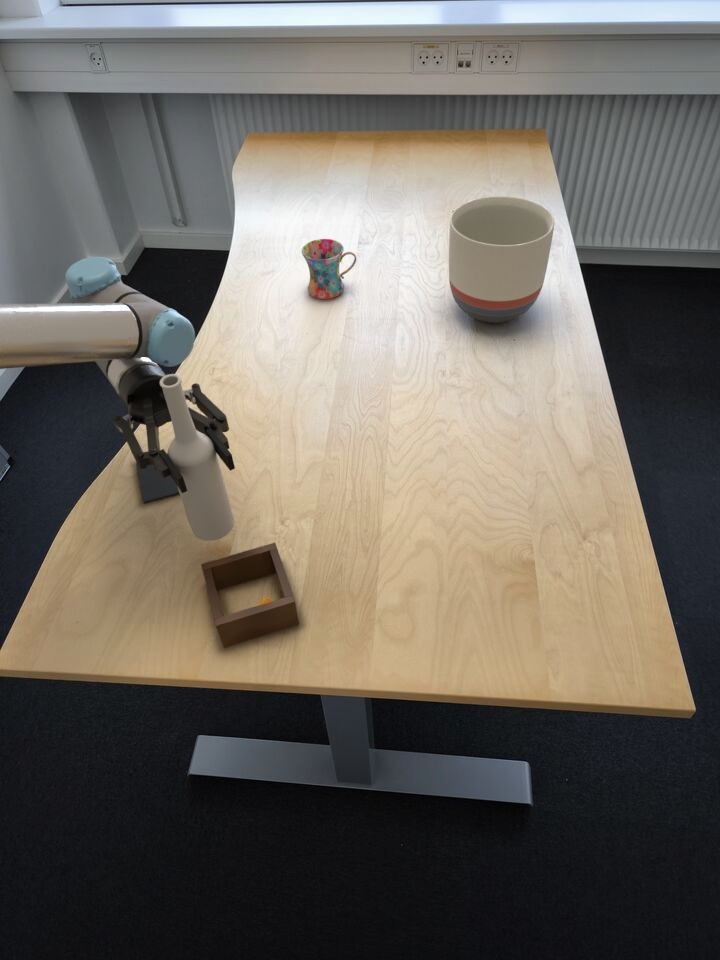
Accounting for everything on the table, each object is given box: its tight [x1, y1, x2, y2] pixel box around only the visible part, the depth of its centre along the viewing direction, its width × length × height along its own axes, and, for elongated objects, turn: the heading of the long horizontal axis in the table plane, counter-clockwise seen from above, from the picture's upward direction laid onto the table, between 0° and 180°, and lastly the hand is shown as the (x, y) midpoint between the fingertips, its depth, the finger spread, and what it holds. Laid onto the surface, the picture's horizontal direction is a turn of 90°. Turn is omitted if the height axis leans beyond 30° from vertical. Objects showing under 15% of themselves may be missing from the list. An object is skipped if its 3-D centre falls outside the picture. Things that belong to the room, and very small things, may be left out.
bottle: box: [160, 373, 235, 542], centre depth 101 cm, size 7×7×28 cm
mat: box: [135, 462, 180, 504], centre depth 130 cm, size 12×10×1 cm
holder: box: [200, 542, 300, 649], centre depth 108 cm, size 11×11×6 cm
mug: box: [301, 238, 357, 300], centre depth 165 cm, size 12×9×11 cm
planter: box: [448, 195, 555, 324], centre depth 152 cm, size 20×20×21 cm
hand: (207, 473), depth 97 cm, fingers closed on bottle, 6 cm apart
